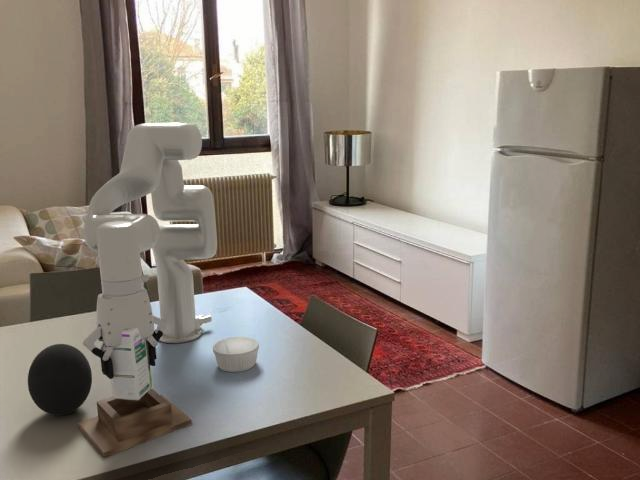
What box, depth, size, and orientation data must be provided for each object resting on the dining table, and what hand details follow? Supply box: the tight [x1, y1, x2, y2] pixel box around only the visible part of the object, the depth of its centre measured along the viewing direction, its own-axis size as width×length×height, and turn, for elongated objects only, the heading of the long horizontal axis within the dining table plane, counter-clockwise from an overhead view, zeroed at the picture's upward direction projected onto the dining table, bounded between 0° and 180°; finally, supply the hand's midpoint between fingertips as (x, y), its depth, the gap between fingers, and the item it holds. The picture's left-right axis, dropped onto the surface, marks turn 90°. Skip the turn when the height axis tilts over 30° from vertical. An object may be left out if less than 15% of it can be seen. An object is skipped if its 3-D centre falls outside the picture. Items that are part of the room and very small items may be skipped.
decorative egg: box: [27, 343, 93, 416], centre depth 125 cm, size 12×12×15 cm
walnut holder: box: [78, 387, 193, 458], centre depth 121 cm, size 18×14×5 cm
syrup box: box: [110, 328, 153, 400], centre depth 118 cm, size 6×6×14 cm
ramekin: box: [212, 336, 260, 373], centre depth 148 cm, size 11×11×5 cm
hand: (130, 369), depth 118 cm, fingers closed on syrup box, 8 cm apart
